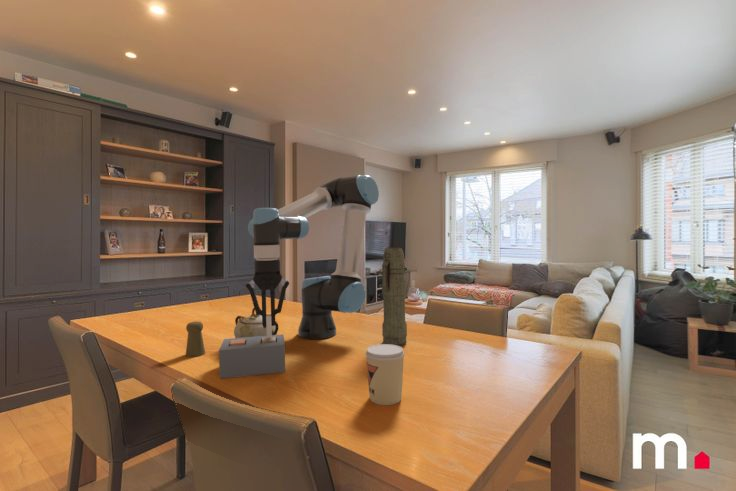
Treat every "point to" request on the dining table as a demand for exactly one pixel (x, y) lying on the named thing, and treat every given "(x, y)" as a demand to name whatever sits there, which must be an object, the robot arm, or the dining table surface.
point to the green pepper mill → (194, 339)
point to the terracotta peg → (237, 342)
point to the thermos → (394, 297)
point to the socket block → (251, 357)
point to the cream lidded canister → (385, 373)
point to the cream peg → (268, 340)
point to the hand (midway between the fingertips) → (269, 336)
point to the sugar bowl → (252, 326)
